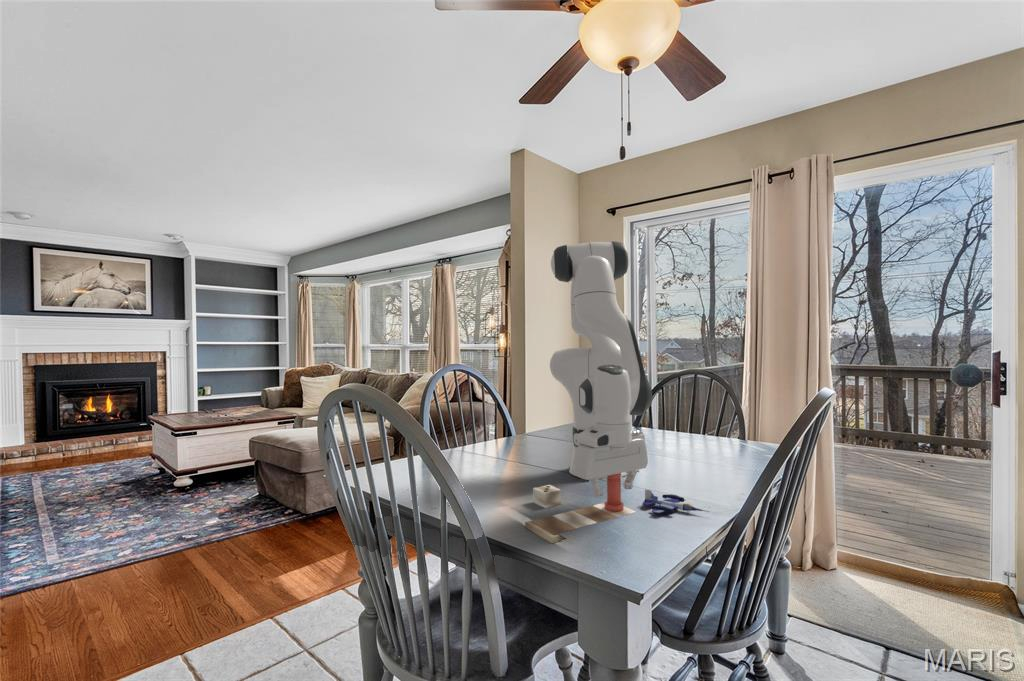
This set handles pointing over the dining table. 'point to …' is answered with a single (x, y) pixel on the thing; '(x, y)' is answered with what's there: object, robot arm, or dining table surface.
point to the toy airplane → (667, 503)
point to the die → (547, 496)
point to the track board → (571, 521)
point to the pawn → (614, 494)
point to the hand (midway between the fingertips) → (613, 492)
